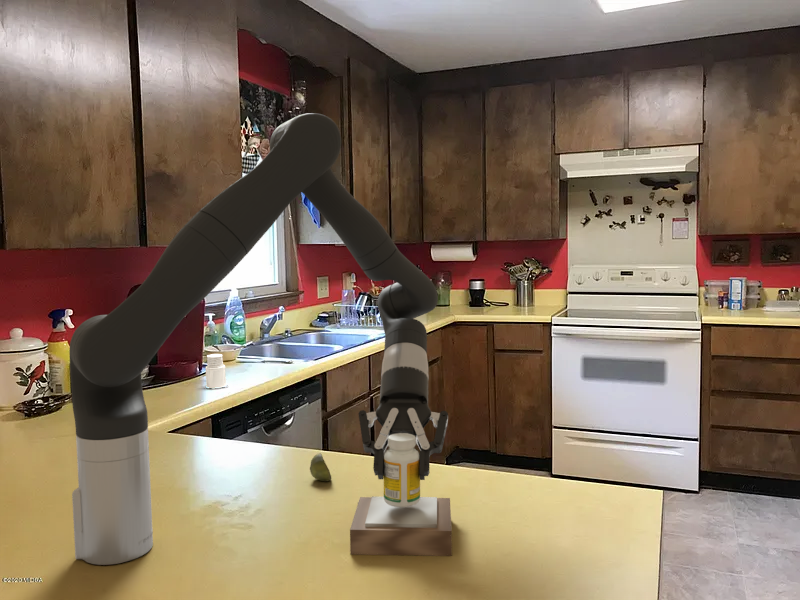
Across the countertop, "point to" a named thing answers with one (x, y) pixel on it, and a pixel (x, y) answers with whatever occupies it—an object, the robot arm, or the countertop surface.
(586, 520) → the countertop surface
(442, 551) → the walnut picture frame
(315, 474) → the lime
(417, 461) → the supplement bottle
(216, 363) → the white pipe fitting
